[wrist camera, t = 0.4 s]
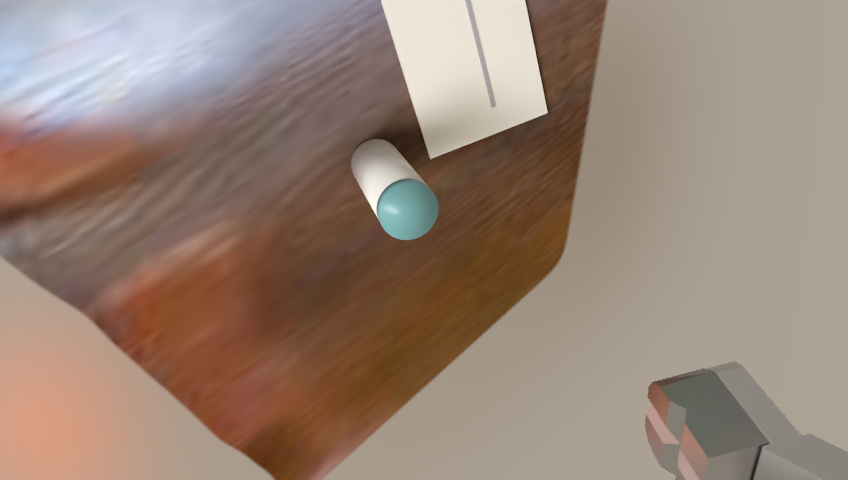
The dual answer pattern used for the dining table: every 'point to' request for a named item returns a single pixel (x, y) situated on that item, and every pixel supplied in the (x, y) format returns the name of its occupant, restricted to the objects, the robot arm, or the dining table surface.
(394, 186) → the marker
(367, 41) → the dining table surface
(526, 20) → the paper
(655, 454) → the robot arm
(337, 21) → the dining table surface
